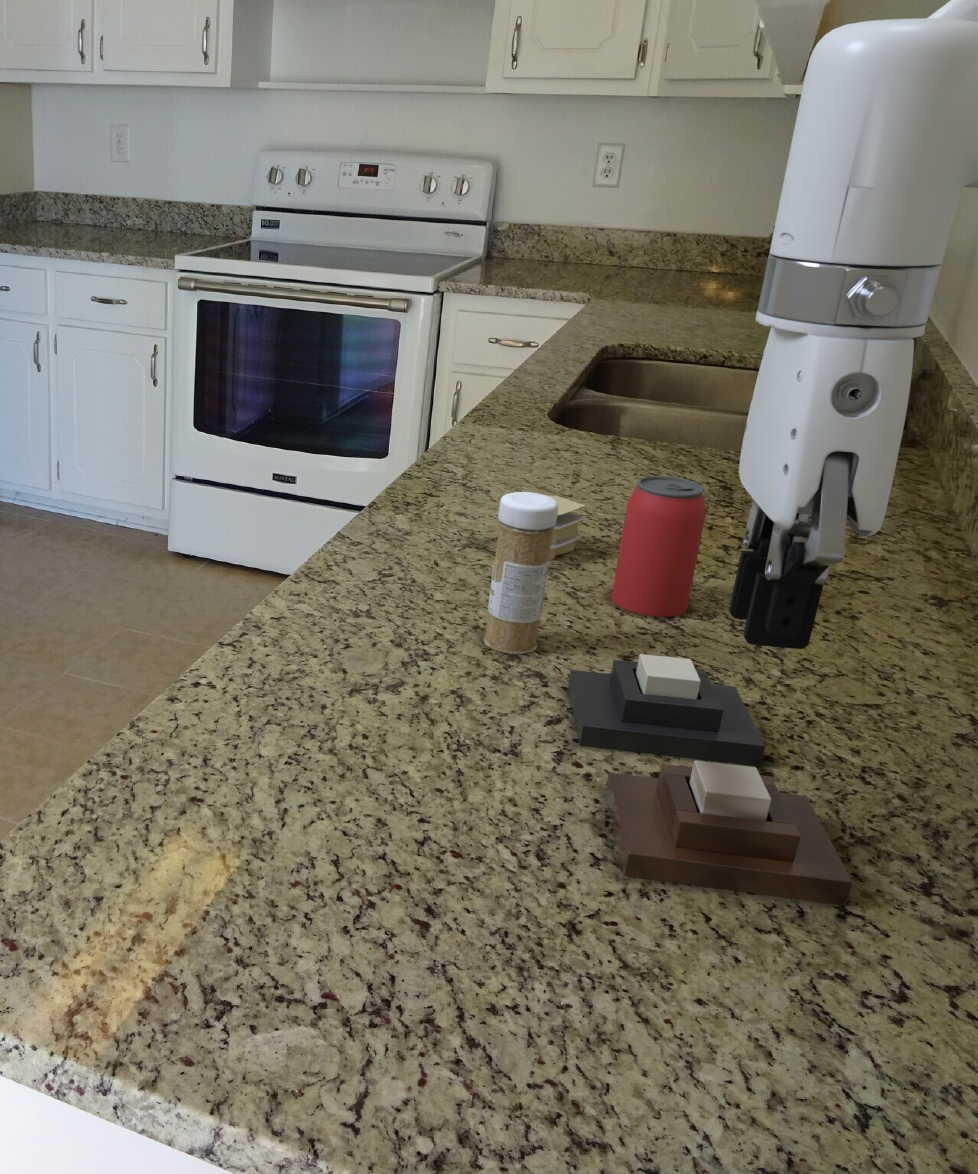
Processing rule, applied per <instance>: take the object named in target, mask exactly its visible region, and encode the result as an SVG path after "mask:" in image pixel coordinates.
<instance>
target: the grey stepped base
mask: <svg viewBox="0 0 978 1174" xmlns="http://www.w3.org/2000/svg"><path fill="white" fill-rule="evenodd" d="M637 666H638V661H629V660H620V659H619V660H617V659H614V660H613V661H612V666H611V672H610V673H607V672H598V671H597V672H595V671H586V670H576V669H570V671H569V677H568V683H567V684H568V685H567V691H568V697H569V702H570V706H571V711H572V712H571V713H572V716H573V721H574V725H575V730H576V736H577V740H578V745H579V746H580V747H586V748H587V747H588V748H594V749H595V748H596V749H605V750H612V751H623V752H629V753H631V752H632V753H637V754H638V753H641V754H649V755H657V756H666V757H674V758H682V759H691V760H699V761H708V762H716V763H725V764H734V765H743V766H751V767H761V766H762V762H763V757H764V754H765V750H766V744H765V743H764V740H763V738H762V736H761V735H760V732H759V730H758V728H757V727H756V724H755V723H754V721H753V719H752V717H751V715H750V713H749V711H748V708H747V707H746V705H745V702H744V701H743V699H742V697H741V695H740V693H739V691H738V689H737V688H736V686H733V685H723V684H713V683H712V682H711V680H710V678H709V675H708V673H707V672H706V669H705V668H699V667H695V669H696V672H697V674H698V676H699V678H700V680H701V682H700V687H699V692H698V697H697V699H687V698H677V697H668V696H658V695H649V694H642V691H641V688H640V685H639V682H638V679H637V676H636V671H637Z"/></svg>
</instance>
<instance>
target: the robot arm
mask: <svg viewBox="0 0 978 1174" xmlns="http://www.w3.org/2000/svg"><path fill="white" fill-rule="evenodd" d="M963 188H971V189H972V188H974V189H978V0H949V1H948V2H947V3H945V4H943V6H941V7H940V8H938V9H937V10H936V11H934V12H933V13H932V14H931V15H929V16H927V18H926V17H925V18H923V17H922V18H891V19H890V18H889V19H875V20H865V21H859V22H854V23H847V24H844V25H841V26H838V27H836V28H834V29H832V30H830V31H829V32H827V33H826V34H825V35H823V36H822V37H821V39H820V40H819V41H818V42H817V43H816V45H814V48H813V49H812V52H811V54H810V57H809V59H808V63H807V67H806V71H805V75H804V79H803V84H802V90H801V94H800V100H799V105H798V109H797V113H796V119H795V124H794V129H793V134H792V139H791V144H790V147H789V153H788V158H787V164H786V168H785V173H784V179H783V183H782V189H781V193H780V198H779V204H778V208H777V213H776V218H775V222H774V223H775V224H774V229H773V234H772V238H771V243H770V247H769V255H767V256H768V257H767V260H766V266H765V269H764V270H765V271H764V275H763V281H762V286H761V290H760V295H759V300H758V305H757V310H756V314H755V319H754V320H755V322H756V323H758V324H760V325H762V326H765V327H770V329H769V334H768V337H767V341H766V344H765V347H764V348H763V353H762V354H763V355H762V358H761V362H760V365H759V370H758V373H757V378H756V381H755V385H754V389H753V393H752V397H751V402H750V404H749V411H748V415H747V419H746V423H745V428H744V432H743V438H742V445H741V450H740V457H739V465H738V476H739V480H740V483H741V485H742V487H743V488H744V489H745V491H746V492H747V493H748V494H749V496H750V497H751V498H752V500H751V504H750V510H749V514H748V518H747V522H746V526H745V530H744V533H743V548H744V549H745V550H741V551H740V556H739V561H738V565H737V569H736V575H735V579H734V582H733V583H734V584H733V589H732V593H731V598H730V602H729V607H728V612H729V614H730V615H731V617H732V618H734V619H737V620H744V621H745V620H746V621H745V625H744V630H743V638H744V640H745V642H746V643H747V644H749V645H752V646H763V647H773V648H774V647H775V648H783V649H795V650H803V649H805V648H807V647H808V646H809V644H810V640H811V636H812V632H813V629H814V625H815V619H816V617H817V612H818V608H819V604H820V601H821V596H822V593H823V588H824V585H826V583H827V581H828V578H829V572H830V568H831V566H833V565H836V564H840V563H841V562H842V561H843V559H844V556H845V546H846V533H847V525H848V526H849V527H850V528H851V529H852V530H853V531H854V532H855V533H857V534H858V535H859V536H862V537H871V536H873V535H875V534H876V533H878V532H879V531H880V530H881V528H882V527H883V523H884V520H885V517H886V513H887V508H888V503H889V500H890V495H891V490H892V486H893V481H894V477H895V472H896V468H897V461H898V458H899V452H900V448H901V442H902V437H903V432H904V427H905V422H906V418H907V417H906V416H907V411H908V405H909V399H910V392H911V382H912V374H913V365H914V364H913V363H914V353H915V352H914V349H915V340H914V338H918V337H922V336H924V334H925V330H926V325H927V322H928V319H929V316H930V312H931V308H932V304H933V301H934V296H935V292H936V288H937V285H938V281H939V277H940V274H941V269H942V263H943V260H944V256H945V254H946V253H945V252H946V249H947V246H948V241H949V237H950V235H951V234H950V233H951V229H952V226H953V222H954V218H955V215H956V212H957V208H958V203H959V201H960V200H959V199H960V195H961V191H962V189H963ZM810 515H811V518H810ZM809 518H810V521H809ZM804 538H806V539H804ZM803 540H804V541H803Z"/></svg>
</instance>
